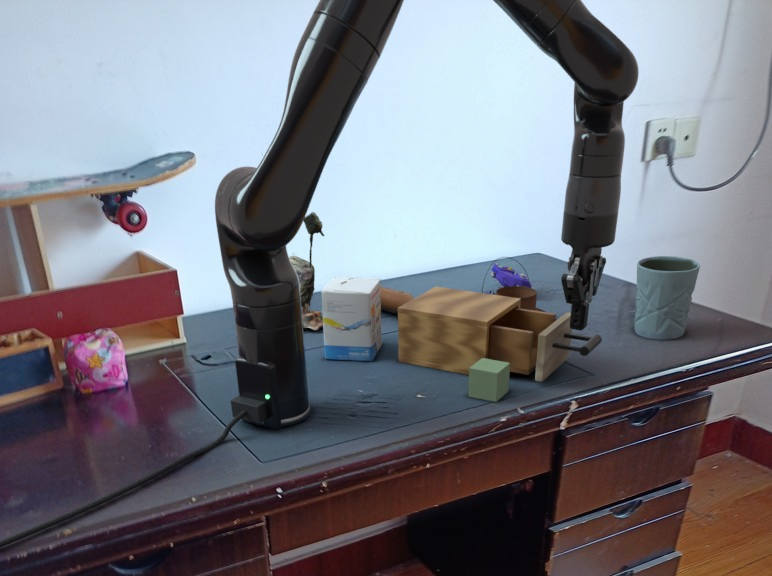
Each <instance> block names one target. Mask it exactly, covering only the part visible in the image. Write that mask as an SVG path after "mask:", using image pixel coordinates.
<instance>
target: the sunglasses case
mask: <svg viewBox="0 0 772 576" xmlns="http://www.w3.org/2000/svg"><path fill="white" fill-rule="evenodd" d="M380 295H381V311H386V312H390V313H393V314H395V315H396V314H397V315H398V307H400V306H402V305H404V304H405V303H407V302H409V301H411V300H413V299H414V298H415V297H414V296H413V295H412V294H411V293H410V292H404V291H403V290H396V289H392V288H389V287H385V286H381V285H380Z"/></svg>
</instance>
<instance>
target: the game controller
mask: <svg viewBox="0 0 772 576" xmlns="http://www.w3.org/2000/svg"><path fill="white" fill-rule="evenodd" d="M502 258H508V259H511V260H513V261H515V262H516V263H518V264H519V265H520V266H521V267H522V268H523V270H524V272H525V273H519V272H516V270H514V268H513V267H510V266H504V265H502V264H499V263H498V262H496V261H498V260H499V259H502ZM495 262H496V263H495ZM491 266H492V268H491ZM490 268H491V271H490V277H491V278H494V279H496V280H497V282H498V283H499V284H500V285H501V286H502V287H508V286H524V287H529V288H532V283H531V282H530V280H529V276H528V272H527V270H526V268H525V267H524V266H523V265H522V264H521V263H520V262H519V261H518V260H516V259H515V258H512V257H510V256H501V257H497V259H495V260H494V261H492V263H491V264H490V265H489V267H488V269H487V272H486V273H485V276H484V279H483V282H482V286H481V293H484V292H483V289H484V284H485V280H486V277H487V275H488V272H489V270H490ZM491 293H492V290H488V291H487V292H486V293H485V294H491Z"/></svg>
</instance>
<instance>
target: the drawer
mask: <svg viewBox="0 0 772 576" xmlns="http://www.w3.org/2000/svg"><path fill="white" fill-rule="evenodd" d="M570 317H571V312H567V311H566V312H565V313H563V315H561V316H560V317H558V318H557V313H555V312H554V313H553V312H547V311H545V312H541V311H534V310H527V309H521V308H513V309H512V310H511V311H509V312H508V313H506V314H505V315H504V316H502V317H501V318H499V319H498V320H496V321H495V322H494V323H492V324H491V325H489V341H488V359H491V360H496V361H502V362H508V363H510V372H511V373H514V374H515V373H517V374H521V375H526V376H530V374H532V372H534V371H535V375H534V376H535V377H534V381H536V382H544V381H545V380H546V379H547V378H548V377H549V376H550V375H551V374H552V373H553V372H554V371H556V370H557V369H558V368H559V367H560V366H561V365H562V364H563V363H564V362H565V361H566V360H568V358H570V354H571V353H570V352H577V353H578V352H579V354H580V355H581V356H582V357H587V356H589V354H590V353H592V351H594V349H596V348H597V347H598V346H599V345H600V344H601V342H602V341H603V338H602V336H601V335H600V334H594V335H592V336H588V335H582V334H575V333H573V329H571V328H570ZM572 340H577V341H582V342H583V341H584V342H585V343H584V344H583V345H582V346H576V345H571V344H572V343H571V342H572Z"/></svg>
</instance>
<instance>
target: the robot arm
mask: <svg viewBox="0 0 772 576" xmlns="http://www.w3.org/2000/svg"><path fill="white" fill-rule="evenodd" d="M404 2H405V0H319V1H318V3H317V5H316V7H315V8H314V10H313V13H312V15H311V17H310V18H309V21H308V22H307V25H306V27H305V29H304V31H303V33H302V35H301V37H300V39H299V42H298V44H297V46H296V49H295V52H294V54H293V58H292V61H291V64H290V69H289V75H288V80H287V81H288V82H287V88H286V95H285V100H284V101H285V102H284V106H283V112H282V114H281V118H280V119H281V120H280V122H279V125H278V128H277V130H276V132H275V134H274V137H273V138H272V141H271V143H270V144H269V146H268V148H267V149H266V152H265V154H264V155H263V157H262V159H261V160H260V162H259V164H258V165H257V167H255V166H240V167H239V166H238V167H236V168H234V169H232V170H230V171H229V172H228V173H226V174H225V175H224V176H223V178H222V179H221V180H220V182H219V184H218V186H217V189H216V192H215V198H214V215H215V224H216V231H217V237H218V238H217V239H218V243H219V249H220V256H221V263H222V268H223V272H224V275H225V276H224V277H225V278H226V280H227V283H228V285H229V289H230V294H231V301H232V309H233V316H234V324H235V325H234V326H235V333H236V341H237V348H238V357H236V358H235V360H234V365H235V372H236V380H237V388H238V396H236V397H234V398H232V399H230V406H231V413H232V419H231V420H230V421H229V423H228V424H227V425H226V426H225V428H224V429H223V432H222V433H221V435H220V436H219V437H217V439H215V440H214V441H213V442H211V443H210V444H208V445H205V446H203V447H201V448H198V449H196V450H193V451H190V452H189V453H186V454H185V455H182V456H181V457H179V458H176V459H175V460H174V461H172V462H170V463H168V464H166V465H164V466H162V467H160V468H159V469H156V470H154V471H153V472H151V473H149V474H147V475H145V476H143V477H141V478H139V479H137V480H135V481H133V482H130V483H129V484H127V485H125V486H123V487H121V488H119V489H116V490H114V491H112V492H111V493H108V494H106V495H103V496H102V497H99V498H97V499H95V500H93V501H90V502H89V503H87V504H84V505H82V506H80V507H78V508H75V509H73V510H71V511H68V512H66V513H63V514H62V515H59V516H56V517H54V518H52V519H50V520H47V521H45V522H42V523H40V524H37V525H35V526H33V527H30V528H28V529H25V530H23V531H20V532H18V533H16V534H13V535H11V536H8V537H5V538H3V539H0V548H2V547H5V546H7V545H10V544H12V543H15V542H17V541H19V540H22V539H25V538H27V537H29V536H31V535H34V534H36V533H38V532H41V531H43V530H46V529H49V528H51V527H53V526H56V525H58V524H60V523H62V522H65V521H67V520H69V519H72V518H73V517H76V516H78V515H82V514H83V513H85V512H87V511H90V510H91V509H94V508H96V507H98V506H100V505H102V504H105V503H107V502H109V501H111V500H113V499H116V498H118V497H119V496H122V495H123V494H125V493H128V492H130V491H131V490H133V489H136V488H138V487H140V486H141V485H143V484H145V483H148V482H150V481H152V480H153V479H155V478H157V477H159V476H161V475H163V474H164V473H166V472H168V471H171V470H172V469H174V468H176V467H177V466H179V465H181V464H183V463H184V462H186V461H189V460H190V459H193V458H194V457H196V456H200V455H203V454H204V453H207V452H209V451H210V450H212V449H213V448H216V447H217V446H219V445H220V444H221V443H222V442H224V440H225V439H227V437H228V436H229V433H230V432H231V430H232V429H233V427H234V426H235V425H236V424H237V423H238V422H239V421H240V420H242V422H244V423H247V424H251V425H256V426H259V427H262V428H263V427H264V428H267V429H271V430H279V429H280V428H282V427H287V426H292V425H296V424H299V423H301V422H303V421H305V420H306V419H307V418H309V416H310V415H311V404H310V399H309V385H308V373H307V360H306V348H305V334H304V327H303V321H302V307H301V296H300V283H299V277H298V275H297V273H296V271H295V269H294V268H293V266H292V264H291V262H290V259H289V257H290V256H289V254H288V250H287V245H288V244H290V243H291V242H292V241H293V239H294V238H295V237H296V235H297V234H298V232H299V231H300V229H301V227H302V226H303V225H302V224H304V221H303V220H304V218H305V217H306V216H307V213H308V210H309V207H310V205H311V202H312V200H313V197H314V195H315V192H316V190H317V188H318V184H319V182H320V178H321V177H322V174H323V172H324V169H325V168H326V167H325V166H326V164H327V163H328V159H329V157H330V155H331V153H332V151H333V149H334V147H335V145H336V143H337V142H338V140H339V137H340V136H341V134H342V132H343V130H344V128H345V126H346V125H347V122H348V120H349V119H350V117H351V114H352V112H353V110H354V108H355V106H356V104H357V103H358V100H359V99H360V97H361V95H362V93H363V91H364V90H365V88H366V86H367V84H368V82H369V80H370V78H371V76H372V74H373V72H374V71H375V68H376V66H377V64H378V62H379V60H380V58H381V56H382V54H383V53H384V51H385V48H386V45H387V42H388V41H389V39H390V36H391V34H392V31H393V30H394V28H395V27H394V26H395V24H396V22H397V19H398V17H399V14H400V12H401V9H402V7H403V5H404ZM492 2H494V3H495V4H496V5H497V6H498V7H499V8H500V9H501V10H502V11H503V12H504V13H505V14H506V15H507V16H508V18H510V20H511V21H512V22H513V23H514V24H515V25H516V26H517V27H518V28H519V29H520V30H521V31H522V32H523V33H524V34H525V36H527V38H528V39H529V40H530V41H531V42H532V43H533V44H534V45H536V47H537V48H538V49H539V50H540V51H541V52H542V53H543V54H545V55H546V56H547V57H549V58H550V59H552V60H554V61H555V62H556V63H557V64H558V65H559V66H560V67H561V69H562V70H563V71H564V72H565V73H566V74H567V76H569V77H570V79H571V80H572V81H573V139H572V144H571V152H570V159H569V173H568V178H567V183H566V188H565V193H564V204H563V214H562V215H563V216H562V226H561V236H560V240H561V241H562V243H563V244H564V245H567V246H570V248H571V253H570V256H569V257H568V260H567V270H568V273H563V274H562V275H561V285H562V290H563V295H564V299H565V303H566V304H570V305H571V309H570V313H571V317H570V328H571V329H572V330H575V331H576V330H577V331H583V330H584V329H585V328H586V327H587V326H588V320H589V319H588V318H589V309H590V304H591V303H592V301H593V297H595V296H596V295H597V292H598V288H599V284H600V283H601V278H602V275H603V272H604V269H605V266H606V264H607V258H606V257H604V256H603V255H602V250H603V248H606V247H609V246H611V245H613V244H614V242H615V240H616V235H617V234H616V232H617V225H618V218H619V217H618V216H619V209H620V202H621V196H622V195H621V193H622V173H623V172H622V171H623V165H624V157H625V147H626V139H625V138H626V135H625V131H624V128H623V114H624V113H623V112H624V104H625V101H626V100H628V98H630V97H631V96H632V94H633V93H634V91H635V90H636V86H637V84H638V81H639V71H640V70H639V63H638V61H637V58H636V56H635V55H634V52H633V51H631V49H630V48H629V47H628V46H627V44H625V43H624V41H622V40H621V39H620V38H619V37H618V36H617V35H616V34H615V33H614V32H613V31H612V30H611V29H610V28H608V26H606V25H605V24H604V23H603V22H601V20H599V18H597V17H596V16H594V14H593V13H592V12H591V11H590V10H589V9H588V7H587V6H586V4H584V2H583V1H582V0H492Z"/></svg>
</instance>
